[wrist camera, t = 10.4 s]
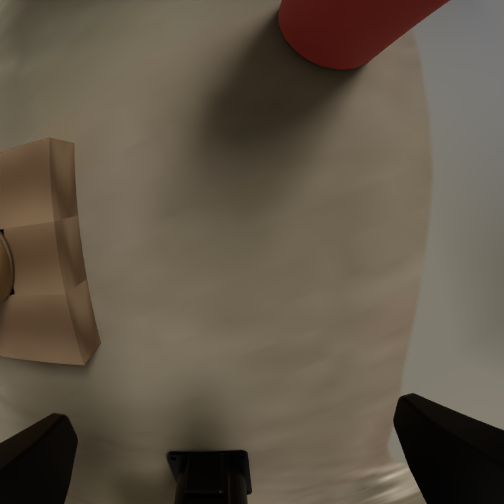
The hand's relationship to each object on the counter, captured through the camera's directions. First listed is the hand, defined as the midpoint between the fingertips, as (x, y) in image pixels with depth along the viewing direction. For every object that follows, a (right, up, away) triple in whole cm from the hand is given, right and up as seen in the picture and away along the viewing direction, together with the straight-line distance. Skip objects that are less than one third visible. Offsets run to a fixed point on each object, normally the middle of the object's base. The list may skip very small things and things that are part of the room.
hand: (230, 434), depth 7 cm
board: (-16, +4, +10) cm, 19 cm away
